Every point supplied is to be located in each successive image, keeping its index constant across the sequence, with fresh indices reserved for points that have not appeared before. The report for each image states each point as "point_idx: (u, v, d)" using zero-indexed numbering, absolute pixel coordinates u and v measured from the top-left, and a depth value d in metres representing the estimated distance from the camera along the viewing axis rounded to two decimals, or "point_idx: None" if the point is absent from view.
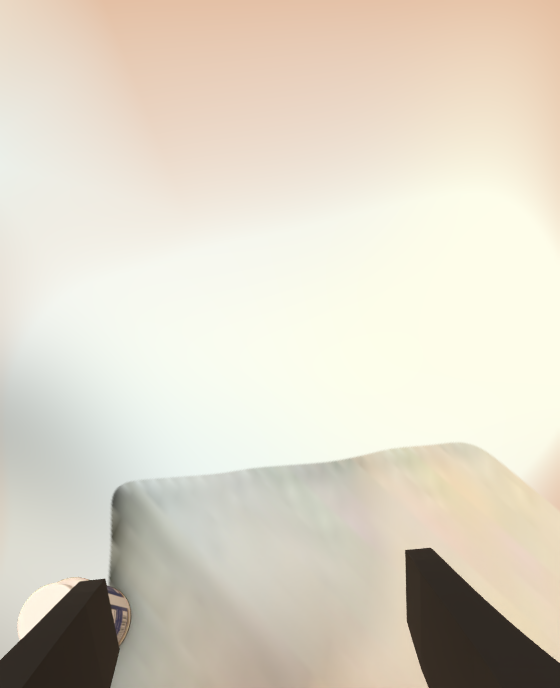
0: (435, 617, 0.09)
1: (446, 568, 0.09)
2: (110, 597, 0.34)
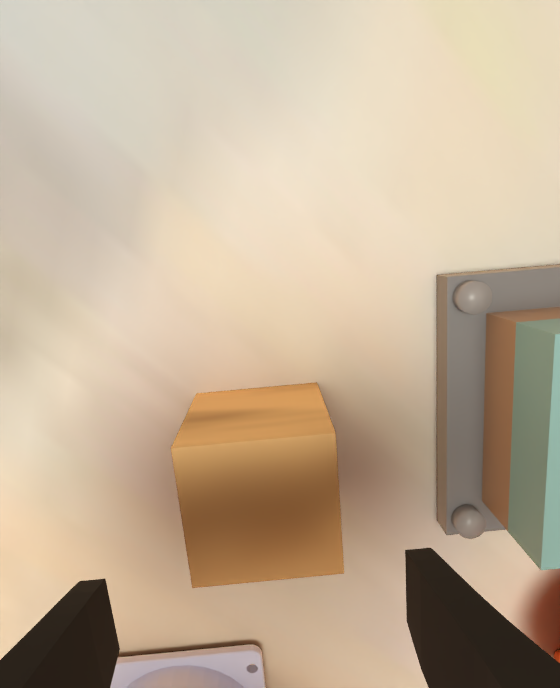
0: (435, 617, 0.09)
1: (446, 568, 0.09)
2: None
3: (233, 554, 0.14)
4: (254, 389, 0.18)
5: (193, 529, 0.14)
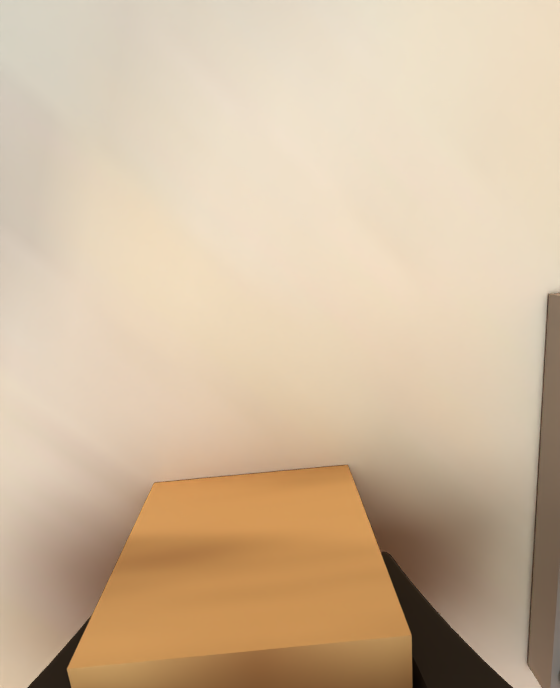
0: None
1: (397, 573, 0.09)
2: None
3: None
4: (247, 479, 0.11)
5: None
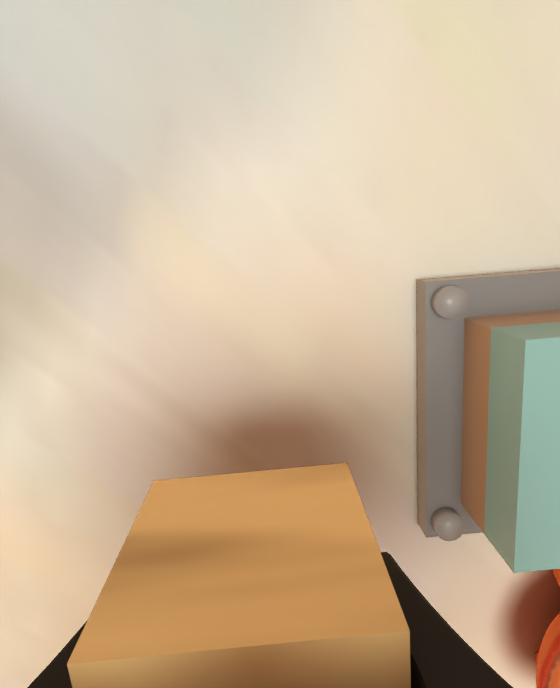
0: None
1: (397, 572, 0.09)
2: None
3: None
4: (246, 476, 0.11)
5: None
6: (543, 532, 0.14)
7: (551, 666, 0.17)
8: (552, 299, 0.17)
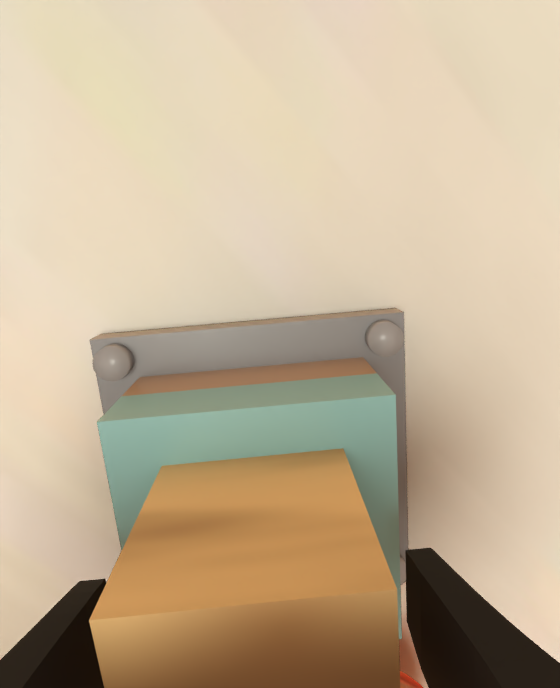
0: (435, 617, 0.09)
1: (446, 568, 0.09)
2: None
3: None
4: (249, 461, 0.12)
5: None
6: None
7: None
8: (233, 356, 0.15)
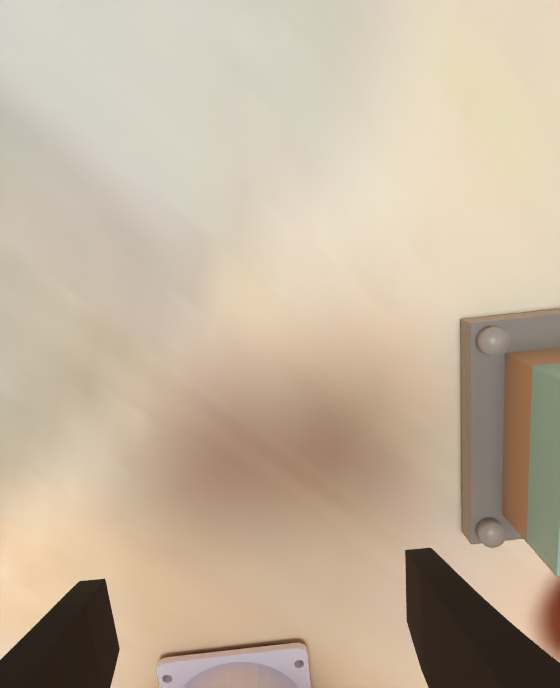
0: (435, 617, 0.09)
1: (446, 568, 0.09)
2: None
3: None
4: None
5: None
6: None
7: None
8: None
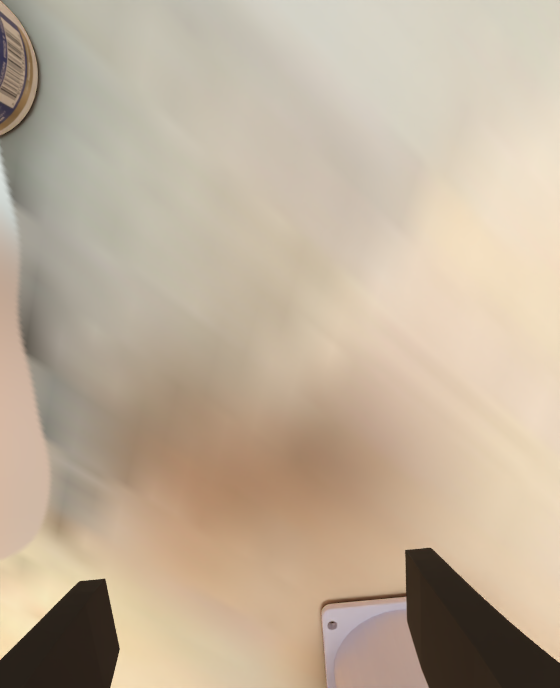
0: (435, 617, 0.09)
1: (446, 568, 0.09)
2: None
3: None
4: None
5: None
6: None
7: None
8: None
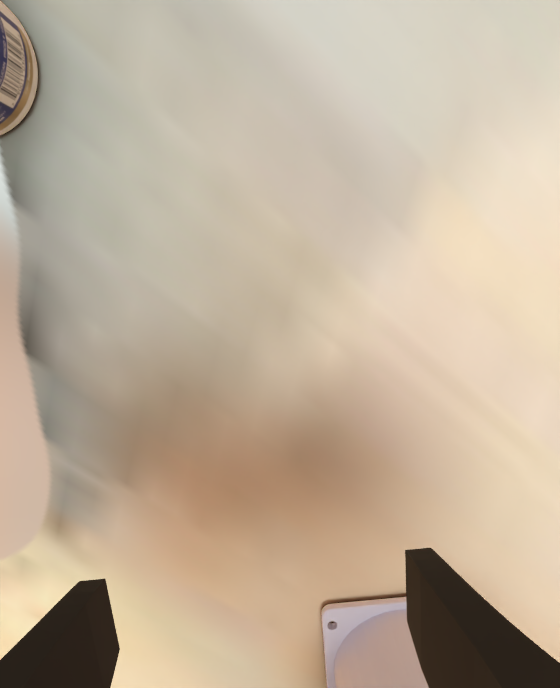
0: (435, 617, 0.09)
1: (446, 568, 0.09)
2: None
3: None
4: None
5: None
6: None
7: None
8: None
